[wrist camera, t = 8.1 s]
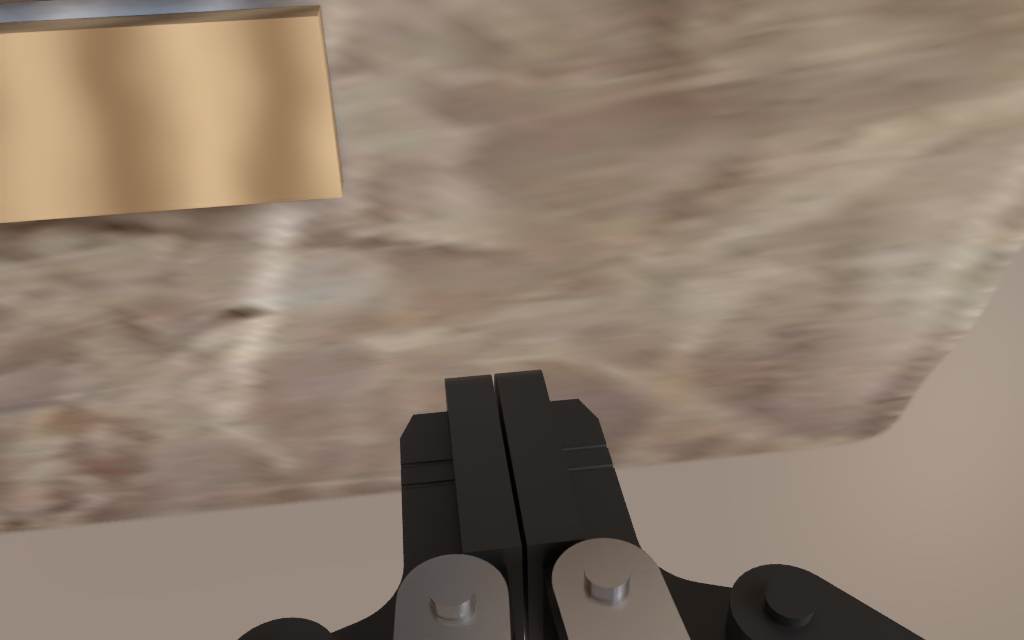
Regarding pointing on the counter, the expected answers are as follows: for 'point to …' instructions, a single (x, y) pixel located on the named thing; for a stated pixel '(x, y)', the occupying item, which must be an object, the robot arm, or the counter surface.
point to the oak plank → (165, 113)
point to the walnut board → (8, 0)
